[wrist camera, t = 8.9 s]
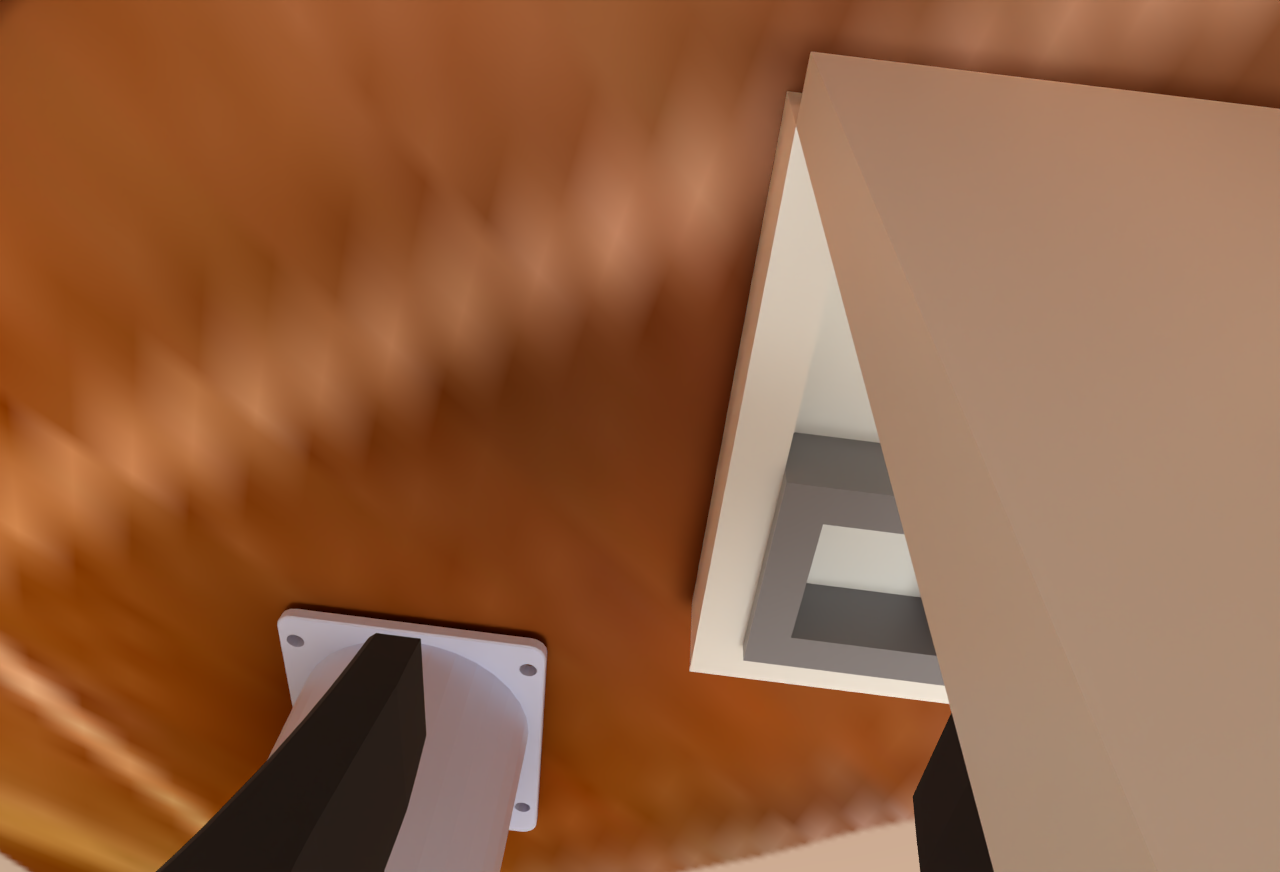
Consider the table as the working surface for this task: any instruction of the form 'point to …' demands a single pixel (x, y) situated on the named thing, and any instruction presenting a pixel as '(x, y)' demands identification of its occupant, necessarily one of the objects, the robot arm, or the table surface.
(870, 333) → the equipment case
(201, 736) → the table surface
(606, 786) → the table surface
